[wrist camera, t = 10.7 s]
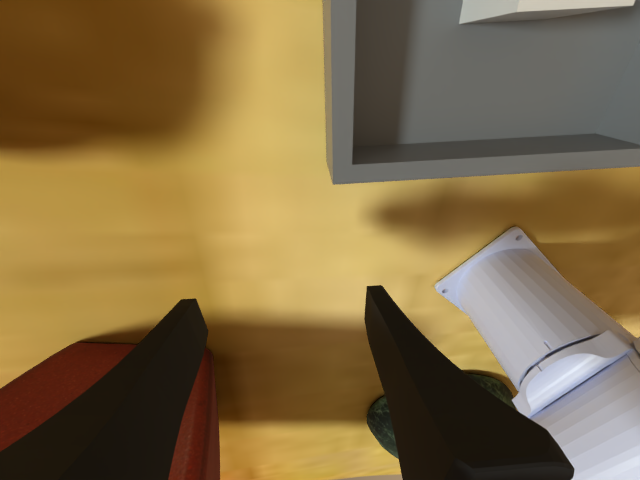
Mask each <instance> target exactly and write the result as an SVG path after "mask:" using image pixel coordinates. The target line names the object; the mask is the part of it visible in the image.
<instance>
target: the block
mask: <svg viewBox="0 0 640 480" xmlns="http://www.w3.org/2000/svg"><path fill="white" fill-rule="evenodd" d="M634 2H635V0H463V4H462V9H461V15H460V21H459V24H471V23H489V22H507V21H525V20H543V19H551V18H557V17H564V16H570V15H576V14H583V13H589V12H596V11H602V10H608V9H615V8H621V7H627V6H633V5H634Z"/></svg>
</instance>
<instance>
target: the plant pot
mask: <svg viewBox="0 0 640 480" xmlns="http://www.w3.org/2000/svg"><path fill="white" fill-rule="evenodd" d="M136 346H137V345H131V344H105V343H74V344H71V345H69V346H68V347H66V348H64V349H62V350H61V351H59V352H57V353H55V354H54V355H52V356H50V357H49V358H47V359H46V360H44V361H43V362H41V363H40V364H38V365H36V366H35V367H33V368H32V369H30V370H28V371H27V372H25V373H24V374H22V375H21V376H19V377H17V378H16V379H14V380H13V381H11V382H10V383H8V384H7V385H5V386H4V387H2V388H1V389H0V451H2V450H4V449H5V448H7V447H8V446H10V445H11V444H13V443H14V442H16V441H17V440H19V439H20V438H22V437H23V436H25V435H26V434H28V433H29V432H31V431H32V430H33V429H35V428H36V427H38V426H39V425H41V424H42V423H43V422H45V421H46V420H48V419H49V418H50V417H52V416H53V415H55V414H56V413H57V412H59V411H60V410H61V409H62V408H64V407H65V406H66V405H68V404H69V403H70V402H72V401H73V400H74V399H76V398H77V397H78V396H80V395H81V394H82V393H84V392H85V391H86V390H87V389H89V388H90V387H91V386H92V385H93V384H95V383H96V382H97V381H98V380H99V379H101V378H102V377H103V376H104V375H105V374H106V373H108V372H109V371H110V370H111V369H112V368H113V367H114V366H116V365H117V364H118V363H119V362H120V361H121V360H122V359H123V358H124V357H125V356H126V355H127V354H128V353H129V352H130V351H131V350H132V349H134V348H135V347H136ZM168 480H220V443H219V421H218V409H217V397H216V386H215V375H214V364H213V355H212V352H210V351H209V350H208V349H206V348H205V351H204V355H203V358H202V361H201V364H200V367H199V370H198V373H197V376H196V379H195V382H194V385H193V388H192V391H191V394H190V397H189V400H188V402H187V405H186V408H185V411H184V415H183V418H182V422H181V425H180V430H179V434H178V438H177V442H176V446H175V451H174V455H173V460H172V464H171V469H170V474H169V478H168Z"/></svg>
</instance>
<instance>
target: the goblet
mask: <svg viewBox="0 0 640 480" xmlns="http://www.w3.org/2000/svg"><path fill="white" fill-rule="evenodd" d="M467 375H468V376H469V377H471V378H472V379H473V380H475V381H476V382H477V383H478V384H480V385H481V386H482V387H484V388H485V389H486V390H488V391H489V392H490V393H492V394H493V395H495V396H496V397H497V398H499V399H500V400H502V401H503V402H505V403H506V404H507V405H509V406H510V407H512V408H514V409H515V410H516V408H515V405H514V403H513V402H512V399H513V395H512V393H511V391H510V390H509V389H508V387H507V386H506V385H505V384H503V383H502V382H500V381H499V380H497V379H494V378H491V377H487V376H481V375H476V374H467ZM367 424H368V426H369V428H370V430H371V432H372V433H373V435H374V436H375V438H376V439H377V440H378V442H379V443H380V444H381V446H382V447H383V448H384V449H386V450H387V451H388V452H389V453H390V454H392V455H393V456H395V457H396V458H398V459H399V457H398V452H397V447H396V442H395V437H394V432H393V427H392V423H391V418H390V413H389V409H388V404H387V401H386V397H385V396H383V397H382V398H380V399H378V400H377V401H376V402H375V403H374V404H373V405H372V406H371V407H370V409H369V411H368V414H367Z"/></svg>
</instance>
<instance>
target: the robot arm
mask: <svg viewBox="0 0 640 480" xmlns="http://www.w3.org/2000/svg"><path fill="white" fill-rule="evenodd" d="M517 236H518V237H517ZM434 287H435V289H436V291H437V292H438V293H440V294H441V295H442V296H443V297H445V298H446V299H447V300H449V301H450V302H451V303H453V304H454V305H455V306H457V307H458V308H459V309H460V310H462V311H463V312H464V313H466V314H467V315H468V316H469V318H470V319H471V321H472V322H473V324H474V325H475V327H476V328H477V330H478V331H479V333H480V335H481V336H482V338H483V339H484V341H485V342H486V344H487V345H488V347H489V348H490V350H491V351H492V353H493V354H494V356H495V357H496V359H497V360H498V362H499V363H500V365H501V366H502V368H503V369H504V371H505V373H506V374H507V376H508V377H509V379H510V380H511V382H512V383H513V385H514V386H515V388H516V389H517V391H518V392H519V393H518V394H517V395H516V396H515V397H514V398H513V399H512V402H513V403H514V405H515V407H516V408H517V410H518V411H519V412H518V411H517V410H515V409H514V408H512V407H510V406H509V405H507V404H506V403H505V402H503V401H502V400H500V399H499V398H497V397H496V396H495V395H493V394H492V393H490V392H489V391H488V390H486V389H485V388H484V387H482V386H481V385H480V384H478V383H477V382H476V381H475V380H473V379H472V378H471V377H469V376H468V375H467V374H465V373H464V372H463V371H462V370H461V369H459V368H458V367H457V366H456V365H455V364H453V363H452V362H451V361H450V360H449V359H448V358H447V357H445V356H444V355H443V354H442V353H441V352H440V351H439V350H438V349H437V348H436V347H435V346H434V345H433V344H432V343H431V342H430V341H429V340H428V339H427V338H426V337H425V336H424V335H423V334H422V333H421V332H420V331H419V330H418V329H417V328H416V327H415V326H414V325H413V323H412V322H411V321H410V320H409V319H408V318H407V317H406V315H405V314H404V313H403V312H402V311H401V310H400V308H399V307H398V306H397V305H396V303H395V302H394V301H393V300H392V298H391V297H390V296H389V294H388V293H387V292H386V290H385V289H384V287H382V286H381V285H379V286H367V292H366V306H365V325H366V330H367V335H368V340H369V344H370V348H371V351H372V354H373V357H374V361H375V364H376V367H377V370H378V374H379V377H380V380H381V383H382V387H383V390H384V393H385V397H386V401H387V404H388V409H389V413H390V418H391V423H392V427H393V432H394V437H395V442H396V447H397V452H398V457H399V462H400V467H401V473H402V478H403V480H640V337H639V338H636V337H634V336H633V335H632V334H631V333H630V332H628V331H627V330H626V329H625V328H624V327H622V326H621V325H620V324H619V323H618V322H616V321H615V320H614V319H613V318H612V317H610V316H609V315H608V314H607V313H606V312H604V311H603V310H602V309H601V308H599V307H598V306H597V305H596V304H595V303H593V302H592V301H591V300H590V299H589V298H587V297H586V296H585V295H584V294H583V293H581V292H580V291H579V290H578V289H577V288H575V287H574V286H573V285H572V284H571V283H569V282H568V281H567V280H566V279H565V278H563V276H562V275H561V274H560V273H559V272H558V271H557V270H556V268H555V267H554V266H553V265H552V264H551V263H550V262H549V260H548V259H547V258H546V257H545V256H544V255H543V254H542V252H541V251H540V250H539V249H538V248H537V247H536V246H535V244H534V243H533V242H532V241H531V240H530V239H529V238H528V236H527V235H526V234H525V233H524V232H523V231H522V230H521V229H520V228H519V227H512V228H510V229H509V230H507V231H506V232H505V233H503V234H502V235H501V236H499V237H498V238H497V239H495V240H494V241H493V242H491V243H490V244H489V245H487V246H486V247H485V248H483V249H482V250H480V251H479V252H478V253H476V254H475V255H474V256H472V257H471V258H470V259H468V260H467V261H466V262H464V263H463V264H462V265H460V266H459V267H458V268H456V269H455V270H454V271H452V272H451V273H450V274H448V275H447V276H445V277H444V278H443V279H441V280H440V281H439V282H437V283H436V284H435V286H434ZM444 289H445V290H444ZM207 336H208V329H207V326H206V324H205V321H204V318H203V316H202V313H201V310H200V308H199V305H198V303H197V300H196V299H182V300H180V301H179V302H178V303H177V304H176V305H175V306H174V308H173V309H172V310H171V311H170V312H169V313H168V314H167V315H166V316H165V317H164V318H163V319H162V320H161V321H160V322H159V323H158V324H157V325H156V327H155V328H154V329H153V330H152V331H151V332H150V333H149V334H148V335H147V336H146V337H145V338H144V339H143V340H142V341H141V342H140V343H139V344H138V345H137V346H136V347H135V348H134V349H132V350H131V351H130V352H129V353H128V354H127V355H126V356H125V357H124V358H123V359H122V360H121V361H120V362H119V363H118V364H117V365H116V366H114V367H113V368H112V369H111V370H110V371H109V372H108V373H106V374H105V375H104V376H103V377H102V378H101V379H99V380H98V381H97V382H96V383H95V384H93V385H92V386H91V387H90V388H89V389H87V390H86V391H85V392H84V393H82V394H81V395H80V396H78V397H77V398H76V399H74V400H73V401H72V402H70V403H69V404H68V405H66V406H65V407H64V408H62V409H61V410H60V411H59V412H57V413H56V414H55V415H53V416H52V417H50V418H49V419H48V420H46V421H45V422H43V423H42V424H41V425H39V426H38V427H36V428H35V429H33V430H32V431H31V432H29V433H28V434H26V435H25V436H23V437H22V438H20V439H19V440H17V441H16V442H14V443H13V444H11V445H10V446H8V447H7V448H5V449H4V450H2V451H0V480H168V478H169V474H170V469H171V464H172V460H173V455H174V451H175V446H176V442H177V438H178V434H179V430H180V425H181V422H182V418H183V415H184V411H185V408H186V405H187V402H188V400H189V397H190V394H191V391H192V388H193V385H194V382H195V379H196V376H197V373H198V370H199V367H200V364H201V361H202V358H203V355H204V351H205V346H206V341H207Z"/></svg>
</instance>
